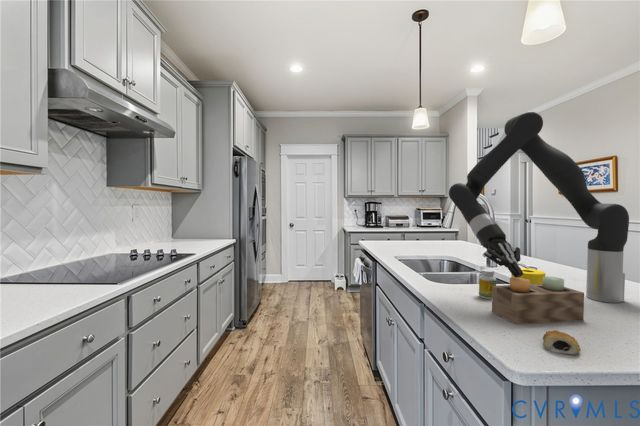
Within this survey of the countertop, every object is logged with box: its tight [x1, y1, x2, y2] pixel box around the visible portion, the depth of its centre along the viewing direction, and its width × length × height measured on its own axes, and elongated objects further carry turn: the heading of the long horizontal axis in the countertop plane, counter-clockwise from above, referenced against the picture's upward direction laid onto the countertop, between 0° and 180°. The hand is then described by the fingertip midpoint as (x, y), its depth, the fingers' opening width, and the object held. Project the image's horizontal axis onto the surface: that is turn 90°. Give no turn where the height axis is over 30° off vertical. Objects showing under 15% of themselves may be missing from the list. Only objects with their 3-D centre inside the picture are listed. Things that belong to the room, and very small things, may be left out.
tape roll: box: [510, 267, 546, 285], centre depth 111 cm, size 10×10×9 cm
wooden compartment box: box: [491, 284, 585, 325], centre depth 92 cm, size 21×10×8 cm, turn 97°
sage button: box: [543, 276, 565, 291], centre depth 93 cm, size 5×5×3 cm
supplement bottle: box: [478, 268, 497, 300], centre depth 111 cm, size 5×5×10 cm
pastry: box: [542, 329, 581, 356], centre depth 73 cm, size 9×7×4 cm
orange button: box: [509, 277, 530, 292], centre depth 91 cm, size 5×5×3 cm
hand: (519, 275), depth 91 cm, fingers closed
